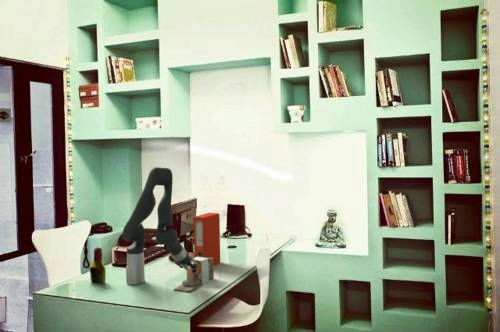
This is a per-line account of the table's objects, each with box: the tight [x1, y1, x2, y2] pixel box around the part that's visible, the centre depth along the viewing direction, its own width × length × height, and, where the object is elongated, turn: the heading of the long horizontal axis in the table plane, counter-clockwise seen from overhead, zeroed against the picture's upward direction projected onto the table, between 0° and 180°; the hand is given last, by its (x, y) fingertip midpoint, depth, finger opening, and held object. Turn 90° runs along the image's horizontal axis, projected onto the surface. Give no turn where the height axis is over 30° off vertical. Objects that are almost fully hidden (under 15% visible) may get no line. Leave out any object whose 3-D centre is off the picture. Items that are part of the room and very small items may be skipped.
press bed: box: [173, 257, 215, 294], centre depth 263 cm, size 10×26×12 cm, turn 156°
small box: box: [194, 257, 210, 284], centre depth 268 cm, size 8×6×13 cm
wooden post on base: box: [181, 252, 201, 287], centre depth 260 cm, size 7×8×17 cm
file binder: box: [193, 212, 221, 267], centre depth 301 cm, size 8×17×32 cm, turn 150°
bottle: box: [89, 247, 107, 285], centre depth 271 cm, size 12×6×20 cm, turn 48°
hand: (192, 271), depth 261 cm, fingers closed on wooden post on base, 3 cm apart
